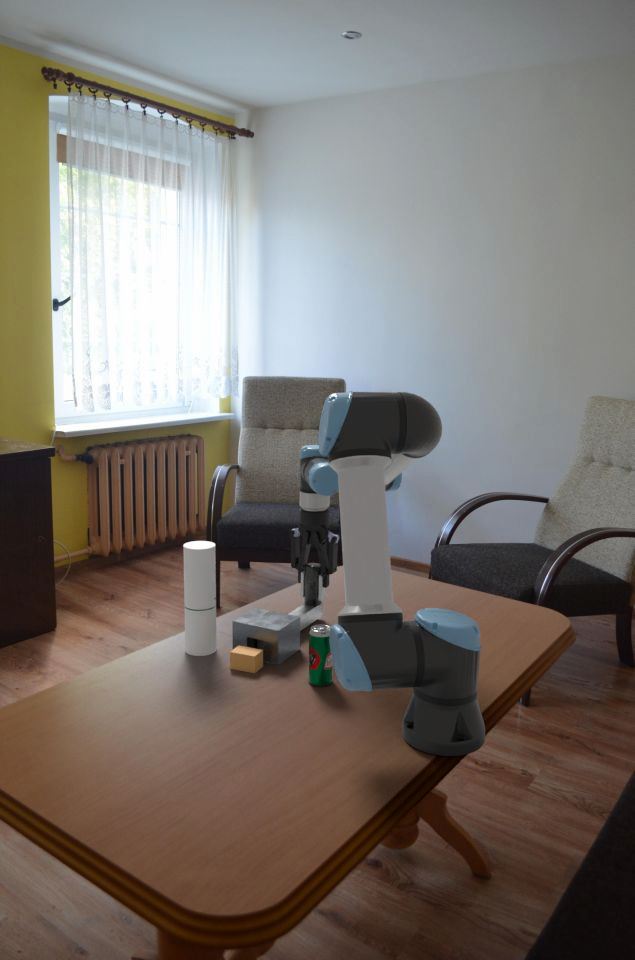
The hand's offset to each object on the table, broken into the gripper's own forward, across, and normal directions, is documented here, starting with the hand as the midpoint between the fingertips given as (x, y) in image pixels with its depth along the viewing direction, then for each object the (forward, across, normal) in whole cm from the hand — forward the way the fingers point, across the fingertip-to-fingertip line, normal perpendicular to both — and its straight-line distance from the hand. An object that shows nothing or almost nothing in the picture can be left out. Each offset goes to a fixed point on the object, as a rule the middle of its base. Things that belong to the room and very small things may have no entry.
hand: (313, 597), depth 202 cm
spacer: (+4, 0, +30) cm, 31 cm away
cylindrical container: (+6, +14, +29) cm, 33 cm away
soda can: (+6, -18, +31) cm, 36 cm away
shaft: (+5, 0, +11) cm, 12 cm away
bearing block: (+6, 0, +23) cm, 24 cm away
